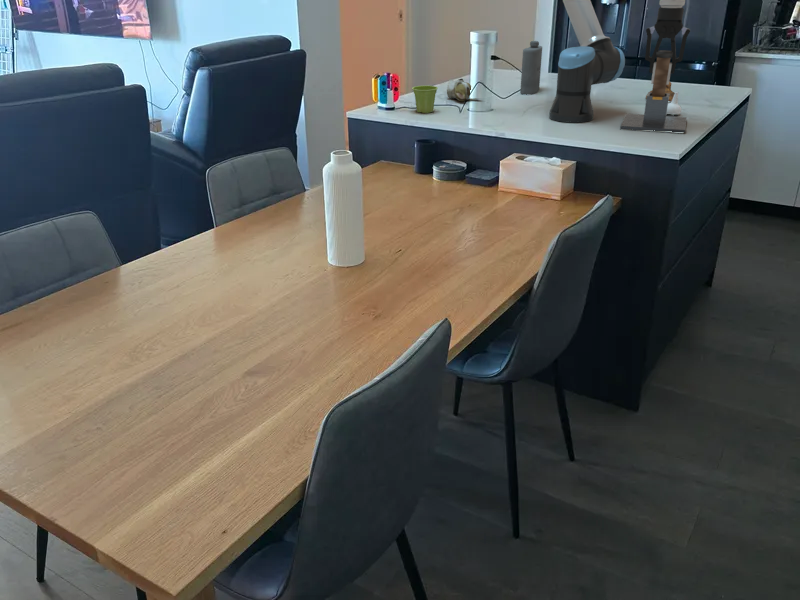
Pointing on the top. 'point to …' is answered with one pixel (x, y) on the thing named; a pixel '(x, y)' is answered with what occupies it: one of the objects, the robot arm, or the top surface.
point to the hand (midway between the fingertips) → (659, 83)
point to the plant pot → (425, 98)
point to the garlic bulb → (674, 106)
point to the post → (661, 72)
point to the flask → (531, 68)
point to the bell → (668, 90)
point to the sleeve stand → (654, 117)
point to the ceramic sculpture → (458, 89)
